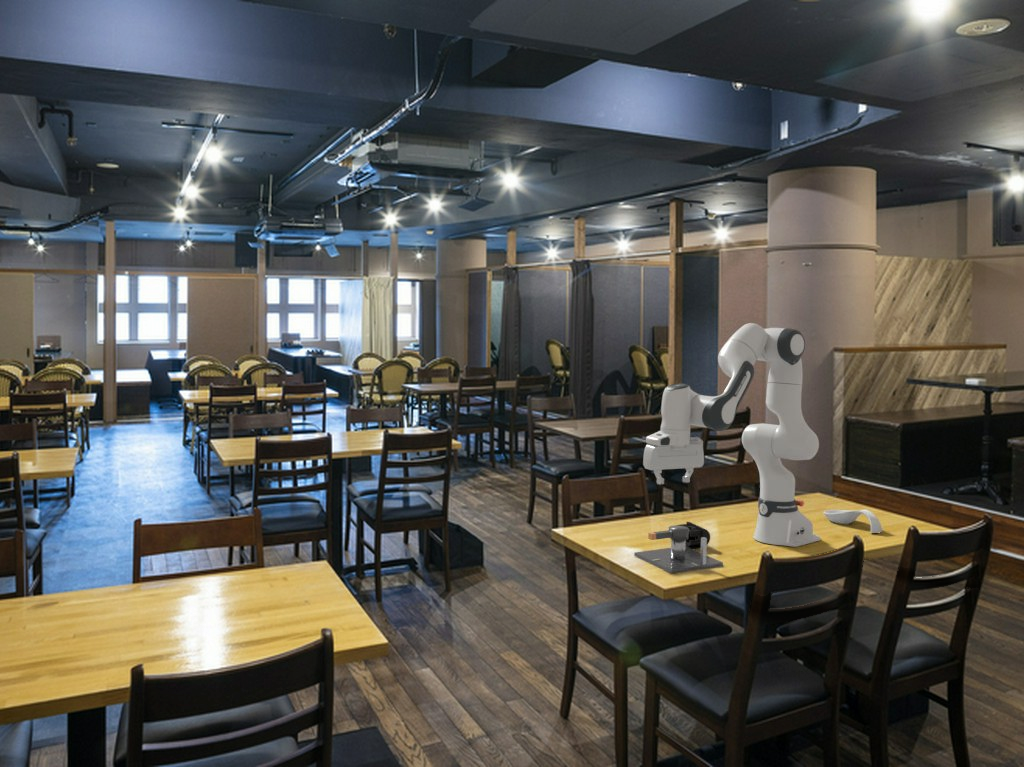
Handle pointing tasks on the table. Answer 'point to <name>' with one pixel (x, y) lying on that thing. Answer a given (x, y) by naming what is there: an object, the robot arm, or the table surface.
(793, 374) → the robot arm
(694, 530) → the end cap
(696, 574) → the table surface
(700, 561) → the mount base
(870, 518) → the spoon rest
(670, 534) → the collar
